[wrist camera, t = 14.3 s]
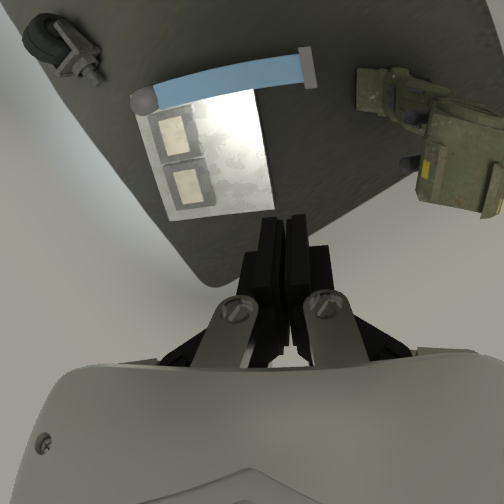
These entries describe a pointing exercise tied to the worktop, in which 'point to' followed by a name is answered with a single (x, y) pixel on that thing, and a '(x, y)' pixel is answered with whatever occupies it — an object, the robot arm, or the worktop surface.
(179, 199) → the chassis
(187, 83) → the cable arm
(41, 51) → the caster wheel
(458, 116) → the mechanical leg
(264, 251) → the robot arm
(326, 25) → the worktop surface
